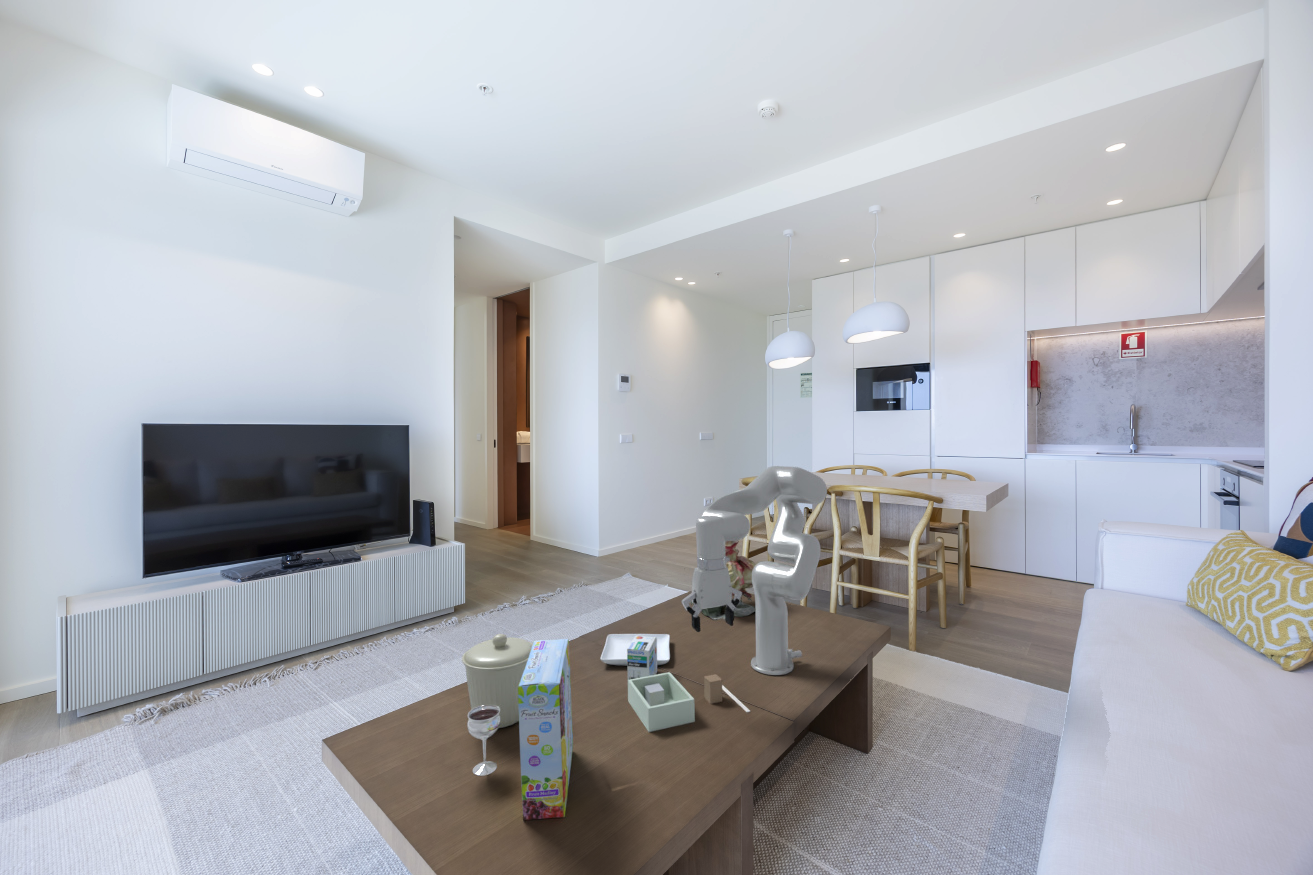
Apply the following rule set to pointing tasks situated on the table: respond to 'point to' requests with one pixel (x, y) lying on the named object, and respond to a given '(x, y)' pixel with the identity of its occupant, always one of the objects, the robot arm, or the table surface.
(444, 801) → the table surface
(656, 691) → the grey cube
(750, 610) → the rose bouquet
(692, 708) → the box
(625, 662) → the salad plate
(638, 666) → the light bulb box
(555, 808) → the snack box
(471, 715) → the wineglass
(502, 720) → the canister
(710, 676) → the lid
